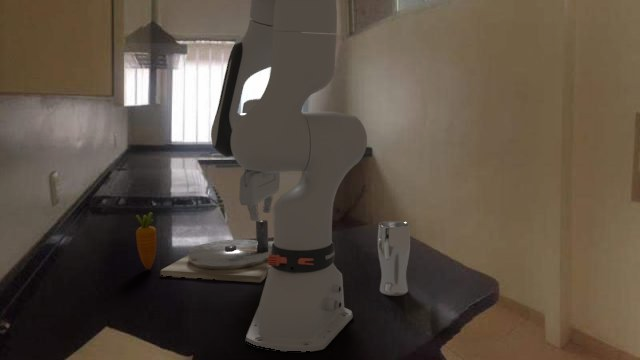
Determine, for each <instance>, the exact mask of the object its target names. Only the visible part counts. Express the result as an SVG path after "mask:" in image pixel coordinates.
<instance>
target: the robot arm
mask: <svg viewBox="0 0 640 360" xmlns="http://www.w3.org/2000/svg"><path fill="white" fill-rule="evenodd" d="M337 8H338V7H337V0H250V10H249V12H250V13H249V21H248V22H249V23H248V27H247V29H246V32H245V34H244V36H243V38H242V39H241V40H240V41H238V42H236V43H235V44H234V45H233V46H232V49H231V51H230V54H229V57H228V60H227V64H226V68H225V69H226V70H225V73H224V78H223V81H222V87H221V91H220V96H219V101H218V104H217V108H216V109H217V110H216V113H215V116H214V120H213V123H212V125H211V132H210V139H211V140H210V141H211V144H212V148H214V150H215V151H217V152H218V153H220V155H222V156H223V157H226V158H228V157H229V158H230V157H234V159H235V161H236V163H237V164H238V165H239V166H241V168H242V171H243V174H241V175H240V179H239V196H238V198H239V199H238V200H239V203H240V205H241V206H247V210H248V213H249V219H250V221H255V222H256V221H258V220H259V219H260V213H259V212H258V203H260V202H262V201H263V206H262V212H263V213H265V214H269V213H270V212H272V215H273V217H272V220H273V225H272V226H273V243H272V244H271V246H272V251H271V254H269V256H268V257H269V258H268V264H269V266H272V267H271V268H270V269H269V270H268V275H267V277H266V279H265V283H264V286H263V288H262V289H263V290H262V294H261V295H260V300H259V305H258V307H257V309H256V310H255V314H254V316H253V318H252V321H251V323H250V325H249V328H248V330H247V333H246V337H245V342H246V341H247V342H249V343H251V344H253V345H256V346H261V347H265V348H271V349H275V350H274V351H276V350H280V351H279V352H287V351H301V352H300V353H306V351H310V352H316V351H322V350H324V349H326V348H327V346H328V345H329V344H330V343H331V342H332V340H334V339H335V337H337V336H338V334H339V333H340V332H341V331H342V330H343V329H344V328H345V326H346V325H348V323H350V321H351V320H352V319H353V318H354V317H353V312H352V310H350V309H348V308H346V307H345V300H344V299H345V296H344V286H343V285H344V281H343V279H344V278H343V274H342V272H341V270H339V269H337V267H336V265H335V264H334V262H335V259H336V258H335V254H336V251H335V249H336V248H335V243H334V242H333V241H332V239H333V236H332V235H333V232H332V229H333V226H332V225H333V209H334V202H335V198H336V194H337V191H338V189H339V188H340V187H339V186H340V184H341V183H342V181H343V180H344V178H345V176H346V175H347V174H348V173H349V172H350V170H352V169H353V168H354V167H355V166H356V165H357V164H358V163H360V161H361V160H362V158H363V157H364V155H365V152H366V150H367V145H368V136H367V130H366V129H365V126H364V124H363V123H362V120H360V119H359V118H358V117H357V116H355V115H351V114H347V113H343V112H337V111H303V107H304V105H305V103H306V101H307V100H308V99H309V98H310V97H311V96H312V95H314V94H315V93H318V92H320V91H322V90H323V89H325V88H326V87H327V86H328V85H329V84H330V83H331V81H332V80H333V77H334V75H335V70H336V69H335V65H336V49H337V48H336V47H337V32H338V29H337V27H338V16H337V15H338V13H337V12H338V11H337ZM269 68H270V71H269V72H270V73H269V78H268V82H267V85H266V86H265V89H264V92H263V93H262V95H261V97H260V98H253V99H248V100H246V101H245V102H244V103H243V104H242V111H241V112H239V108H240V102H241V99H242V96H243V92H244V91H243V90H244V86H245V84H246V82H247V81H248V79H250V78H252V76H254V75H255V74H257V73H259V72H262V71H263V70H266V69H269ZM284 172H285V173H287V172H301V176H300V178H299V181H298V183H297V184H296V185H295V186H294V187H293V188H291V189H290V190H288V191H286V192H284V193H283V194H281V195H279V198H277V200H276V202H275V203H274V206H273V209H272V203H273V199H274V197H273V196H274V195H275V194H278V193H279V188H280V179H281V178H280V177H281V176H280V173H284Z"/></svg>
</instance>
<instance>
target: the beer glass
mask: <svg viewBox="0 0 640 360" xmlns="http://www.w3.org/2000/svg"><path fill="white" fill-rule="evenodd" d="M377 251H378V259H379V265H380V271H381V279H380V285H379V291H380V293H381V294H383V295H385V296H389V297H390V296H391V297H400V296H404V295H406V294H407V293H408V291H409V289H408V283H407V269H408V268H407V267H408V263H409V258H410V251H411V232H410V223H408V222H406V221H405V222H404V221H399V220H397V221H396V220H388V221H387V220H386V221H381V222H379V223H378V231H377Z"/></svg>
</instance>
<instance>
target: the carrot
mask: <svg viewBox="0 0 640 360" xmlns="http://www.w3.org/2000/svg"><path fill="white" fill-rule="evenodd" d="M152 217H153V212H151V211H150V212H149V213H148V214H147V215H146V214H144V215H143V217H142V218H141V217H140V215H139V214H136V216H135V218H136V219H137V220H138V222H139V224H140V225H141V226H140V227H138V228H137V229H136V231H135V236H136V238H135V239H136V240H135V241H136V246H137V247H136V248H137V251H138V255H139V258H140V261H141V262H142V265H143V266H144V267H145V269H146V270H147V269H149V270H151V269H152V266H153V264H154V262H155V259H156V255H157V253H156V252H157V247H158V246H157V242H158V241H157V240H158V239H157V238H158V237H157V236H158V235H157V229H156V228H155V226H152V225H151V224H152V223H153V222H154V219H152Z"/></svg>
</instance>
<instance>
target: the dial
mask: <svg viewBox="0 0 640 360" xmlns="http://www.w3.org/2000/svg"><path fill="white" fill-rule="evenodd" d="M268 221H269V220H267V219H260V220H259V219H258V220H256V221H255V230H256V231H255V233H256V234H255V235H256V239H255V240H254V239H226V240H225V239H224V240H216V241H211V242H205V243H202V244H200V245H196V246H193V247H192V248H191V249H189V250H188V253H187V255H188V261H189V263H190V264H191V265H193V266H195V267H198V268H203V269H213V270H228V269H239V268H246V267H251V266H255V265H259V264H262V263H264V262H266V261H268V258H269V257H268V256H269V254H271V251H272V244H270V243H269V226H268Z"/></svg>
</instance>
